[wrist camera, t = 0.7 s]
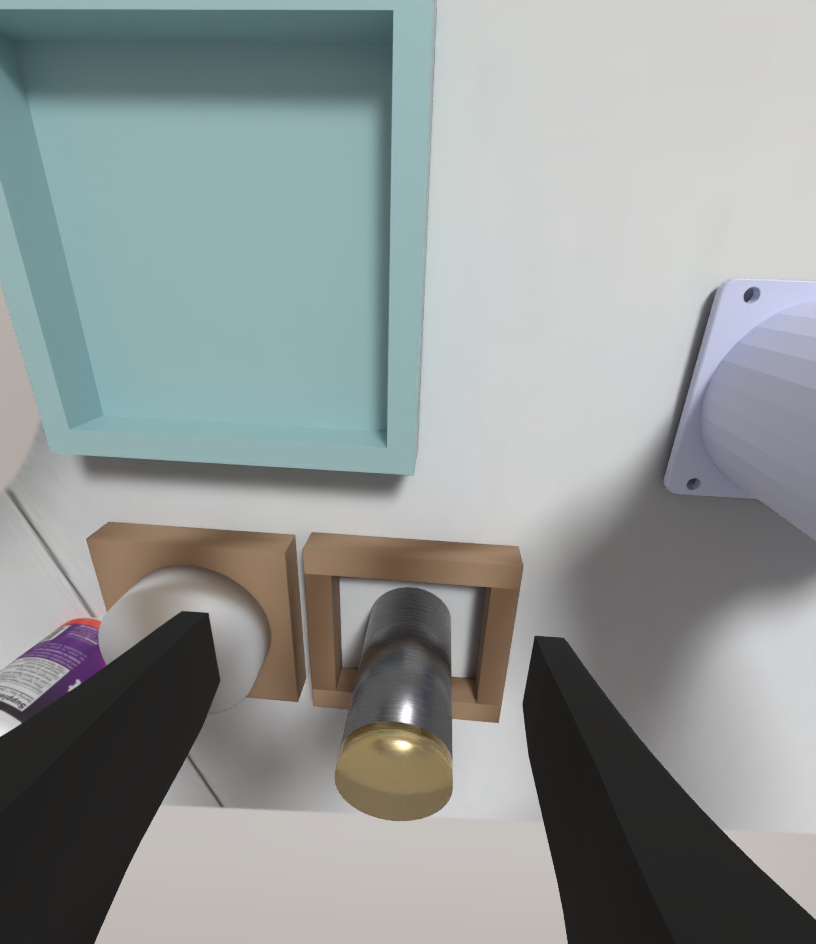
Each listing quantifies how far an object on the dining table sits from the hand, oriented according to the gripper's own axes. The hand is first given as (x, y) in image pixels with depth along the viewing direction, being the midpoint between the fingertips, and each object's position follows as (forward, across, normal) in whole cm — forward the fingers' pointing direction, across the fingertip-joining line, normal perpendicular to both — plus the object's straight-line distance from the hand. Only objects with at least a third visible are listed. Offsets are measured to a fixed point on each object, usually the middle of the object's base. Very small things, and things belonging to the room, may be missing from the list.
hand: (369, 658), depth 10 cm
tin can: (+10, 0, +8) cm, 13 cm away
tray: (+10, +6, -8) cm, 15 cm away
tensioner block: (+10, +4, +8) cm, 14 cm away
